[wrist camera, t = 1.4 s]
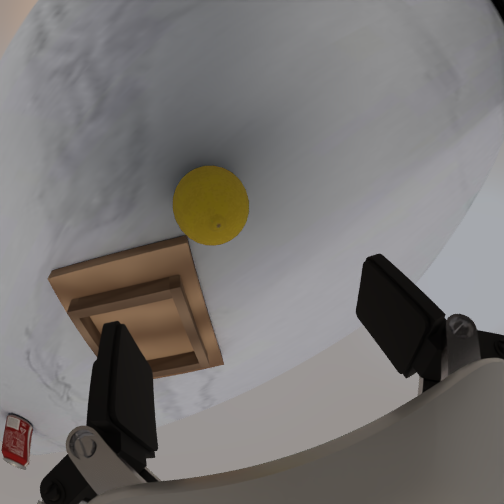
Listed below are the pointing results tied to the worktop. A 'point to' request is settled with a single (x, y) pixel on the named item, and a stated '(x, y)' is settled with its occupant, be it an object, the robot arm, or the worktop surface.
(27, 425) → the soda can
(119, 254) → the board
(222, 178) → the lemon
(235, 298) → the worktop surface
